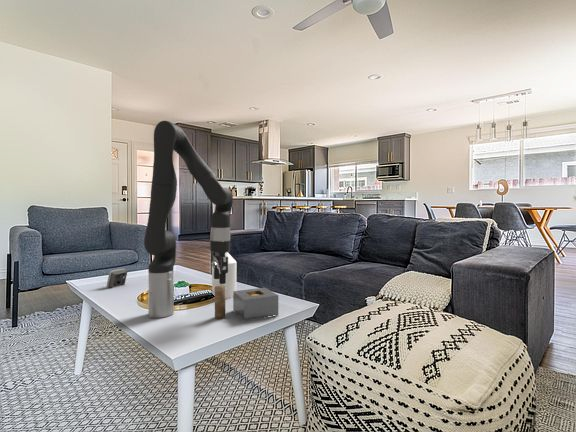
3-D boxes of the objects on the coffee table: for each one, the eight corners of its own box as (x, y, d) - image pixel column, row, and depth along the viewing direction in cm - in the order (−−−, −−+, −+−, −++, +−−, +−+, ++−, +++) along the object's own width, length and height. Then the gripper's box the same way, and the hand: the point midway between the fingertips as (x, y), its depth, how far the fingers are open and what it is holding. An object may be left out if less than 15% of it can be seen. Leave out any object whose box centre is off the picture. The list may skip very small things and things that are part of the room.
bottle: (238, 292, 163) (237, 242, 163) (235, 298, 152) (234, 245, 151) (214, 292, 163) (214, 242, 163) (209, 298, 151) (209, 245, 151)
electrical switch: (120, 284, 181) (121, 267, 181) (127, 285, 179) (128, 269, 179) (105, 287, 172) (106, 270, 172) (113, 289, 171) (114, 272, 170)
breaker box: (244, 321, 121) (244, 299, 121) (233, 310, 134) (233, 291, 133) (278, 315, 127) (278, 295, 127) (264, 306, 140) (264, 287, 140)
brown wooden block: (216, 319, 123) (216, 288, 122) (213, 316, 126) (213, 285, 126) (226, 318, 124) (226, 287, 124) (223, 315, 128) (223, 284, 128)
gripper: (206, 237, 129) (205, 278, 130) (215, 241, 116) (214, 286, 117) (225, 237, 133) (224, 276, 133) (235, 240, 120) (234, 284, 120)
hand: (219, 281), depth 125 cm, fingers open, 8 cm apart
